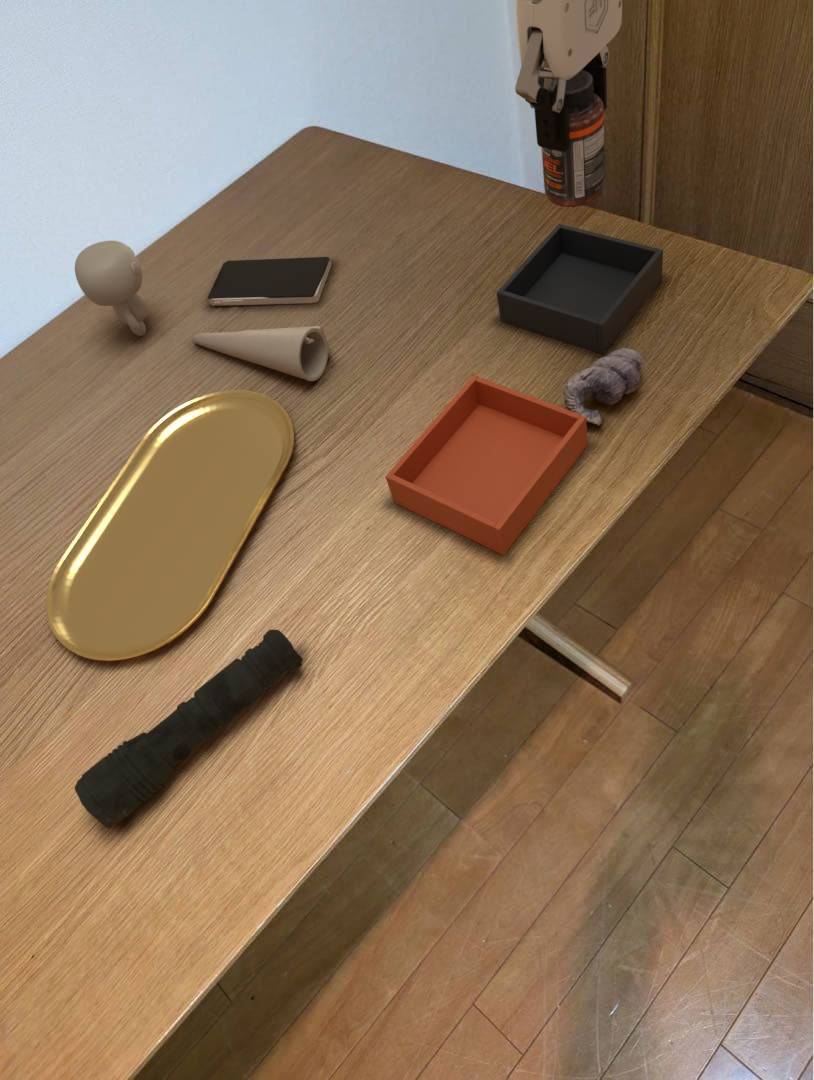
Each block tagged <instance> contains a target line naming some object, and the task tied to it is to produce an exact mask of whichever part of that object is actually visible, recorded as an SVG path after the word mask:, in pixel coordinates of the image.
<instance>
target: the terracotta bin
mask: <svg viewBox="0 0 814 1080" xmlns="http://www.w3.org/2000/svg"><path fill="white" fill-rule="evenodd" d="M587 422H588V421H587V420H586V417H585V416H583V415H580V414H577V413H575V412H572V411H569V410H567V408H563V407H561V406H559V405H556V404H553V403H550V402H548V401H545V400H542V399H540V398H538V397H537V398H536V397H534V396H532V395H529V394H526V393H524V392H520V391H518V390H515V389H512V388H510V387H507V386H505V385H502V384H499V383H497V382H494V381H491V380H489V379H485V378H483V377H480V376H478V375H474V374H473V375H472V376H471V377H470V378H469V380H468V381H467V382H466V383H465V384H464V385H463V387H462V388H461V389H460V390H459V391H458V392H457V393H456V394H455V396H454V397H453V398H452V399H451V400H450V402H448V403H447V405H446V406H445V407H444V408H443V409H442V410H441V412H440V413H439V414H438V415H437V416H436V417H435V418H434V420H433V421H432V422H431V423H430V425H428V426H427V428H426V429H425V430H424V431H423V433H421V435H420V436H419V437H418V438H417V439H416V440H415V442H414V443H413V444H412V445H411V446H410V447H409V448H408V450H407V451H406V452H404V454H403V455H402V457H400V459H399V460H398V461H397V462H396V464H395V465H394V466H393V467H392V468H391V469H390V470H389V472H388V473H386V475H385V481H386V483H387V485H388V489H389V492H390V495H391V498H392V501H393V502H394V503H395V504H396V505H399V506H401V507H403V508H405V509H407V510H410V511H412V512H414V513H416V514H418V515H420V516H421V517H424V518H426V519H428V520H429V521H431V522H434V523H436V524H438V525H440V526H443V527H444V528H446V529H449V530H451V531H453V532H455V533H456V534H459V535H461V536H463V537H465V538H467V539H469V540H471V541H473V542H475V543H477V544H480V545H482V546H483V547H485V548H488V549H490V550H491V551H494V552H496V553H498V554H500V555H502V556H505V555H506V553H508V551H509V549H510V548H511V547H512V545H513V544H514V543H515V541H516V540H517V539H518V537H519V536H520V535H521V533H522V532H524V529H526V527H527V526H528V524H529V523H530V522H531V521H532V519H533V518H534V516H535V515H536V514H537V513H538V511H539V510H540V509H541V507H542V506H543V505H544V503H545V502H546V501H547V499H548V498H549V497H550V495H551V494H552V493H553V492H554V490H555V489H556V487H557V486H558V485H559V483H560V482H561V481H562V480H563V478H564V477H565V476H566V474H567V473H568V472H569V470H570V469H571V468H572V466H573V465H574V464H575V462H576V461H577V460H578V458H579V457H580V456H581V454H582V453H583V452H584V450H585V449H586V448H587V447H588V445H589V444H588V426H587V425H588V423H587Z"/></svg>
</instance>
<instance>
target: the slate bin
mask: <svg viewBox="0 0 814 1080" xmlns="http://www.w3.org/2000/svg"><path fill="white" fill-rule="evenodd" d="M663 263H664V249H662V248H657V247H653V246H649V245H645V244H642V243H637V242H633V241H629V240H626V239H622V238H617V237H614V236H610V235H606V234H602V233H599V232H595V231H590V230H586V229H582V228H579V227H575V226H570V225H567V224H562V223H558V224H557V225H556V226H555V227H554V228H553V230H551V231H550V233H549V234H548V235H547V236H546V237H545V238H544V239H543V240H542V241H541V243H540V244H539V245H538V246H537V247H536V248H535V249H534V250H533V252H531V253H530V255H529V256H528V257H527V258H526V259H525V260H524V261H523V262H522V263H521V265H520V266H519V267H518V268H517V269H516V270H515V271H514V272H513V273H512V275H511V276H509V278H508V279H507V280H506V281H505V282H504V283H503V284H502V286H501V287H500V288H499V289H498V290H497V291H496V297H497V305H498V311H499V313H498V314H499V319H500V322H504V323H506V324H508V325H512V326H515V327H518V328H522V329H524V330H527V331H530V332H533V333H536V334H540V335H543V336H545V337H549V338H552V339H555V340H558V341H561V342H563V343H567V344H570V345H572V346H576V347H578V348H582V349H585V350H588V351H591V352H595V353H598V354H601V355H604V354H605V352H606V351H607V350H608V348H609V347H610V346H611V345H612V344H613V342H614V341H615V340H616V339H617V338H618V336H619V335H620V334H621V332H622V331H623V330H624V329H625V328H626V327H627V325H628V324H629V322H630V321H631V320H632V319H633V317H634V316H635V315H636V313H637V312H638V311H639V310H640V309H641V307H642V306H643V305H644V303H646V301H647V300H648V298H649V297H650V296H651V294H652V293H653V292H654V291H655V290H656V288H658V286H659V284H660V283H661V282H662V281H663V267H664V266H663V265H664V264H663Z"/></svg>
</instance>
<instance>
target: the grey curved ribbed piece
mask: <svg viewBox="0 0 814 1080" xmlns="http://www.w3.org/2000/svg"><path fill="white" fill-rule="evenodd" d="M644 361H645V358H643V356H641V355H640V353H639V352H638V351H637V350H635V349H631V348H628V347H627V348H626V347H624V346H621V347H618V349H617V350H611V351H610V352H609V353H608V354H606V355H605V356H603V357H600V358H598V359H597V360H596V361H594V362H593V363H592V364H590V365H589V367H588V368H587V367H586V368H584V369H581V371H579V372H577V373H576V374H574V375H573V377H570V378H569V379H568V380H567V381H566V383H565V386H564V388H563V392H562V393H563V397H564V405H565V409H567V410H569V411H572V412H575V413H577V414H580V415H583V416H585V417H586V420H587V422H588V423H592V425H597V427H598V426H600V425H602V424H603V423H604V422H605V421H604V420H603V418H602V416H601V415H600V413H599V409H597V410H596V409H595V410H593V409H590V408H587V407H585V400H586V397H587V395H589V394H590V395H591V396H592V398H593V399H595V400H597V401H598V402H600V403H603V404H606V405H615V404H616V403H618V402H620V401H621V399H623V396H624V395H629V394H630V393H633V392H634V391H636V389H638V387H639V385H640V384H641V375H640V371H642V369H643V368H644V365H645V363H644Z"/></svg>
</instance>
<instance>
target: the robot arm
mask: <svg viewBox="0 0 814 1080" xmlns="http://www.w3.org/2000/svg"><path fill="white" fill-rule="evenodd" d="M515 14H516V15H515V17H516V34H517V45H518V47H517V48H518V54H519V60H520V65H521V66H520V69H519V73H518V76H517V79H516V84H515V87H514V88H515V90H514V91H515V93H516V94H517V95H518V96H519V97H521V98H522V99H524V100H525V102H527V103H528V104H529V106H530V108H531V109H534V120H535V122H534V123H535V135H536V144H537V145H538V146H539V147H540V148H542V147H543V148H548V149H553V150H558V151H563V152H565V151H566V150H567V149H568V148H569V147H570V138H569V117H568V107H565V106H563V103H564V96H565V88H566V80H569V79H571V78H573V77H574V76H575V75H576V74H577V73H579V72H580V71H581V70H582V71H586V72H588V73H590V74H591V75H592V77H593V88H594V92H593V93H594V94H596V95H597V96H599V97H600V99H601V100H602V102H603V106H604V111H606V109H608V108H607V107H608V102H607V101H608V100H607V99H608V95H607V94H608V93H607V91H608V89H607V86H608V85H607V67H606V66H607V65H608V63H609V60H610V52H609V47H608V46H609V44H610V43H611V41H612V40H613V39H614V38H615V37H616V35H617V34H618V32H619V31H620V29H621V27H622V23H623V0H515ZM546 62H547V65H548V67H545V64H546ZM545 79H549V80H551V79H555V80H554V89H553V94H552V93H551V92H550V91H549V90H548V88H544V87H545Z"/></svg>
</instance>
